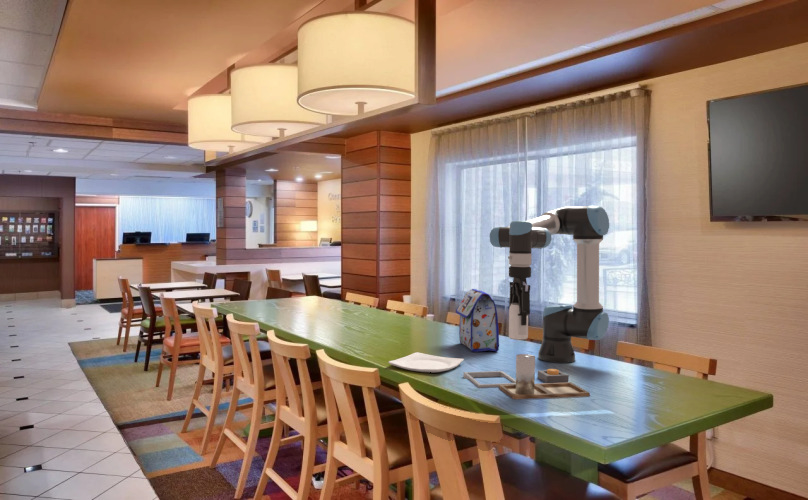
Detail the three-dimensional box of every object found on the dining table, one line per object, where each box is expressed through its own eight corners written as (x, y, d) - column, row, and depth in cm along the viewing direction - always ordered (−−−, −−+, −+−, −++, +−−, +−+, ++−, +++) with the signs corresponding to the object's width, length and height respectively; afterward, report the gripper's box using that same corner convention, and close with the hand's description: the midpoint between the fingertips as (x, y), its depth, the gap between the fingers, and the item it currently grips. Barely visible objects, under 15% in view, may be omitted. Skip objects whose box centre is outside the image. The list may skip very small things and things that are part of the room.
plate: (439, 377, 207) (439, 370, 207) (383, 368, 220) (383, 361, 220) (467, 365, 228) (467, 358, 228) (415, 357, 241) (415, 351, 241)
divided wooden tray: (570, 388, 194) (570, 382, 194) (589, 398, 182) (589, 392, 181) (498, 390, 189) (499, 385, 189) (513, 402, 177) (513, 395, 177)
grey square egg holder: (558, 379, 206) (558, 369, 206) (568, 385, 198) (568, 375, 198) (537, 380, 204) (537, 370, 204) (547, 386, 196) (547, 376, 196)
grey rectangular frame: (502, 375, 210) (502, 370, 210) (520, 388, 192) (521, 383, 192) (463, 377, 207) (463, 372, 207) (478, 390, 190) (479, 385, 190)
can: (527, 340, 190) (528, 305, 190) (508, 339, 192) (508, 304, 192) (528, 337, 197) (528, 303, 196) (509, 336, 198) (509, 302, 198)
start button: (555, 379, 203) (555, 368, 203) (560, 382, 199) (560, 371, 199) (545, 380, 203) (545, 368, 203) (549, 382, 199) (550, 371, 199)
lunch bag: (453, 343, 272) (454, 288, 272) (486, 342, 275) (487, 288, 274) (466, 353, 250) (467, 292, 249) (501, 352, 253) (503, 292, 252)
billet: (529, 389, 188) (530, 353, 187) (537, 394, 182) (538, 357, 182) (512, 390, 187) (513, 354, 186) (519, 395, 181) (520, 358, 180)
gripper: (500, 264, 202) (499, 328, 203) (519, 267, 184) (518, 338, 184) (520, 264, 204) (519, 328, 204) (541, 267, 185) (540, 337, 185)
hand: (518, 332), depth 194 cm, fingers closed on can, 6 cm apart
